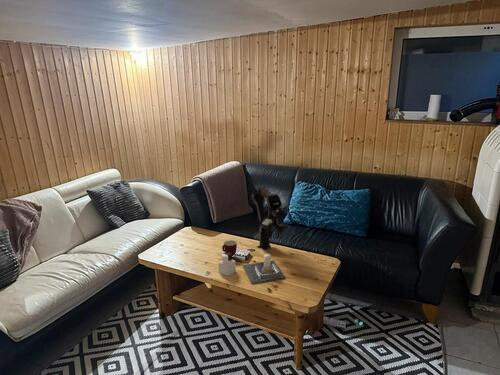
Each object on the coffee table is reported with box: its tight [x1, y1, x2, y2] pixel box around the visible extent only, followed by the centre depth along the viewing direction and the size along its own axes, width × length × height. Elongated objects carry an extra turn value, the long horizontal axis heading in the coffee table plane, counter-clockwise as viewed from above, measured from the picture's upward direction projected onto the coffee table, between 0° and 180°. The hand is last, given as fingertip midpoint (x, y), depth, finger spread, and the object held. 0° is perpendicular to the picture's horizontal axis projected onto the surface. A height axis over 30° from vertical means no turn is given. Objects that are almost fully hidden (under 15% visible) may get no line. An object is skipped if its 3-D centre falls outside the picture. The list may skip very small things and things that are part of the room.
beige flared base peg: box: [261, 253, 273, 274], centre depth 190 cm, size 7×7×10 cm
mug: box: [221, 239, 238, 256], centre depth 209 cm, size 10×8×10 cm
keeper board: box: [242, 260, 287, 285], centre depth 191 cm, size 20×20×2 cm
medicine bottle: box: [218, 252, 237, 277], centre depth 191 cm, size 7×7×12 cm
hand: (272, 236), depth 208 cm, fingers open, 9 cm apart
